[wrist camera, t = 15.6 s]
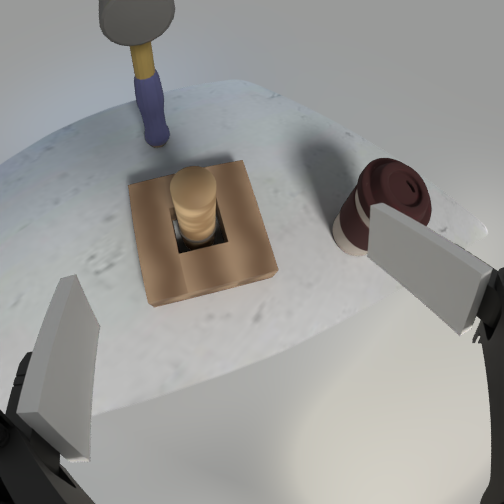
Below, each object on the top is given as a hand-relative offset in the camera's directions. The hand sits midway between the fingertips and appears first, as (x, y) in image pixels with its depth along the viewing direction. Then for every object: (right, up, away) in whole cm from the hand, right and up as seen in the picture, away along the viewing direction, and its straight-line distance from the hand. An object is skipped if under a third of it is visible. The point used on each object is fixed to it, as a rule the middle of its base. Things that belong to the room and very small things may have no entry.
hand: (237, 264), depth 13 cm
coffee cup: (+16, +3, +32) cm, 36 cm away
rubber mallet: (-14, +18, +33) cm, 40 cm away
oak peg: (-7, +3, +29) cm, 30 cm away
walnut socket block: (-7, +3, +29) cm, 30 cm away
